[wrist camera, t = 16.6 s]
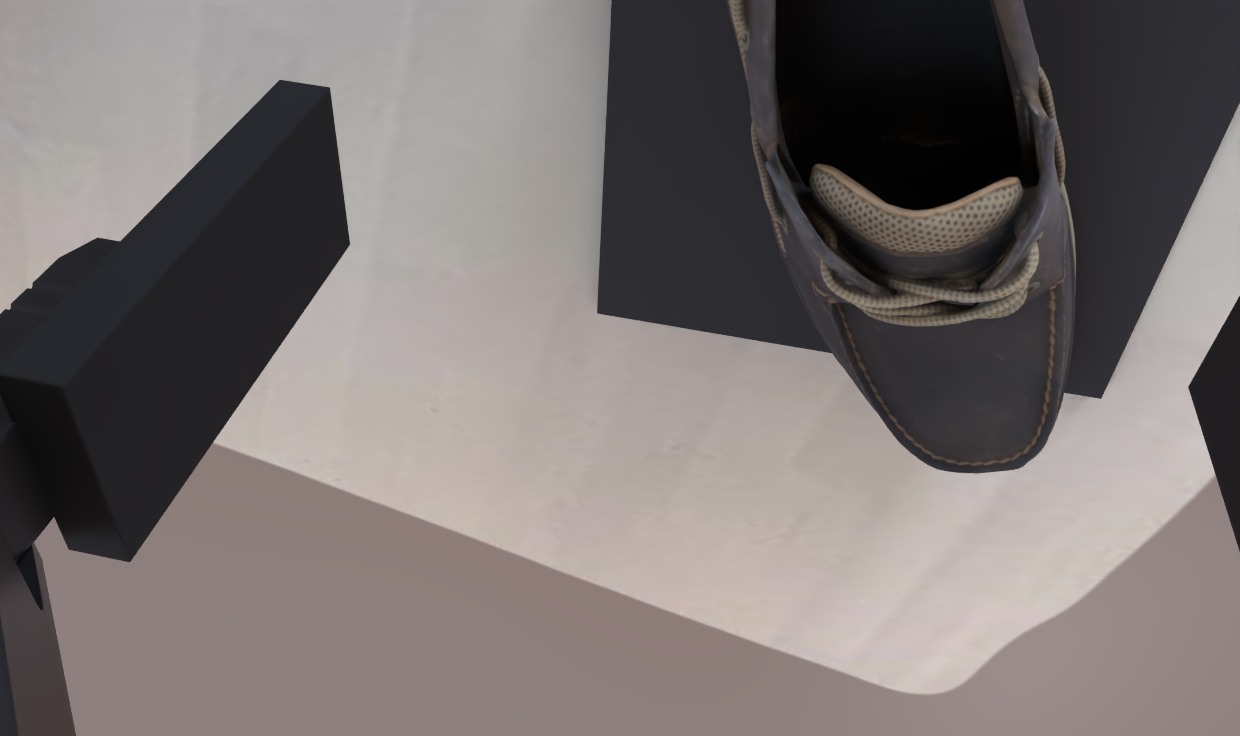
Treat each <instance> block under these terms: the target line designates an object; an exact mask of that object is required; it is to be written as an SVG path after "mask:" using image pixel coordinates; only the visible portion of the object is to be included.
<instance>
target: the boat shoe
mask: <svg viewBox="0 0 1240 736" xmlns="http://www.w3.org/2000/svg"><path fill="white" fill-rule="evenodd" d="M726 2H727V6H728V11H729V16H730V19H731V23H732V27H733V31H734V34H735V38H736V41H737V45H738V48H739V52H740V56H741V60H742V64H743V68H744V72H745V76H746V81H747V86H748V91H749V96H750V113H751V117H752V123H751V137H752V145H753V150H754V154H755V158H756V162H757V166H758V170H759V175H760V179H761V184H762V189H763V193H764V198H765V201H766V203H767V206H768V209H769V214H770V218H771V222H772V226H773V230H774V233H775V237H776V240H777V243H778V246H779V249H780V253H781V256H782V259H783V261H784V263H785V265H786V267H787V269H788V272H789V274H790V276H791V279H792V281H793V283H794V285H795V288H796V290H797V292H798V294H799V296H800V298H801V300H802V302H803V305H804V307H805V309H806V311H807V313H808V315H809V316H810V318H811V320H812V322H813V324H814V325H815V327H816V329H817V330H818V332H819V333H820V335H821V337H822V338H823V340H824V341H825V343H826V344H827V346H828V347H829V349H830V350H831V352H832V353H833V355H834V356H835V358H836V359H837V360H838V362H839V363H840V364H841V365H842V366H843V368H844V369H845V370H846V372H847V373H848V374H849V376H850V377H851V379H852V380H853V381H854V383H855V384H856V386H857V387H858V388H859V390H860V391H861V392H862V394H863V395H864V397H865V398H866V399H867V401H868V402H869V403H870V404H871V406H872V407H873V408H874V409H875V411H876V412H877V413H878V414H879V416H880V417H881V419H882V420H883V421H884V423H885V424H886V426H887V427H888V429H889V430H890V431H891V432H892V434H893V435H894V436H895V438H896V439H897V440H898V441H899V442H900V444H902V445H903V446H904V447H905V448H906V449H907V450H908V451H909V452H910V453H912V454H913V455H915V456H916V457H917V458H918V459H920V460H921V461H923V462H924V463H926V464H927V465H929V466H932V467H934V468H936V469H939V470H943V471H949V472H957V473H986V472H997V471H1007V470H1015V469H1019V468H1021V467H1023V466H1024V465H1025V464H1026V463H1027V462H1028V461H1030V460H1031V459H1033V458H1034V457H1035V456H1036V455H1037V454H1038V453H1039V452H1040V451H1041V450H1042V449H1043V447H1044V446H1045V444H1046V442H1047V440H1048V437H1049V435H1050V433H1051V431H1052V429H1053V427H1054V424H1055V421H1056V419H1057V416H1058V413H1059V410H1060V406H1061V403H1062V399H1063V394H1064V390H1065V386H1066V383H1067V378H1068V373H1069V368H1070V361H1071V354H1072V345H1073V333H1074V321H1075V293H1076V252H1075V237H1074V229H1073V222H1072V216H1071V211H1070V206H1069V201H1068V196H1067V193H1066V189H1065V185H1064V182H1063V181H1064V176H1065V157H1064V149H1063V144H1062V140H1061V136H1060V132H1059V128H1058V123H1057V119H1056V113H1055V108H1054V103H1053V98H1052V93H1051V89H1050V86H1049V82H1048V80H1047V77H1046V75H1045V73H1044V71H1043V69H1042V68H1041V67H1040V66H1039V57H1038V54H1037V51H1036V49H1035V45H1034V42H1033V38H1032V34H1031V30H1030V26H1029V23H1028V19H1027V15H1026V11H1025V7H1024V3H1023V0H726Z"/></svg>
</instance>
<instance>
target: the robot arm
mask: <svg viewBox="0 0 1240 736" xmlns="http://www.w3.org/2000/svg"><path fill="white" fill-rule="evenodd" d="M349 245H350V241H349V233H348V225H347V217H346V210H345V202H344V194H343V186H342V179H341V171H340V163H339V155H338V147H337V140H336V132H335V124H334V116H333V109H332V101H331V93H330V88H329V87H323V86H316V85H310V84H303V83H297V82H290V81H284V80H279V81H278V82H277V83H276V84H275V85H274V86H273V87H272V88H271V89H270V90H269V91H268V92H267V93H266V94H265V95H264V96H263V97H262V98H261V100H260V101H259V102H258V103H257V104H256V105H255V106H254V107H253V108H252V109H251V110H250V111H249V112H248V113H247V114H246V115H245V116H244V117H243V118H242V119H241V120H240V121H239V122H238V123H237V124H236V125H235V126H234V127H233V128H232V129H231V130H230V131H229V132H228V133H227V134H226V135H225V136H224V137H223V138H222V139H221V140H220V141H219V142H218V143H217V144H216V145H215V146H214V147H213V148H212V149H211V150H210V151H209V152H208V153H207V154H206V155H205V156H204V157H203V158H202V159H201V160H200V161H199V162H198V163H197V164H196V165H195V166H194V167H193V168H192V169H191V170H190V171H189V172H188V173H187V174H186V175H185V176H184V178H183V179H182V180H181V181H180V182H179V183H178V184H177V185H176V186H175V187H174V188H173V189H172V190H171V191H170V192H169V193H168V194H167V195H166V196H165V197H164V198H163V199H162V200H161V201H160V202H159V203H158V204H157V205H156V206H155V207H154V208H153V209H152V210H151V211H150V212H149V213H148V214H147V215H146V216H145V217H144V218H143V219H142V220H141V221H140V222H139V223H138V224H137V225H136V226H135V227H134V228H133V229H132V230H131V231H130V232H129V233H128V234H127V235H126V236H125V237H124V238H123V239H122V240H121V241H120V242H119V241H114V240H108V239H102V238H96V239H94V240H92V241H90V242H88V243H87V244H85V245H83V246H81V247H79V248H77V249H75V250H73V251H71V252H69V253H67V254H65V255H63V256H62V257H60V258H58V259H57V260H56V261H55V262H54V263H53V264H52V265H51V266H50V267H49V268H48V269H47V270H46V271H45V272H44V273H43V274H42V275H41V276H40V277H39V278H37V279H36V280H35V281H34V282H33V287H32V289H28V288H27V289H26V290H25V291H24V292H23V293H22V294H21V295H20V296H19V297H18V298H17V299H16V300H15V301H13V302H12V303H11V309H10V310H7V309H5V310H4V311H3V312H2V313H1V314H0V736H76V733H75V728H74V723H73V717H72V712H71V707H70V702H69V697H68V692H67V686H66V681H65V677H64V671H63V666H62V661H61V655H60V650H59V645H58V640H57V635H56V630H55V625H54V619H53V614H52V609H51V604H50V599H49V593H48V588H47V583H46V579H45V573H44V568H43V562H42V558H41V556H40V554H39V552H38V550H37V548H36V546H35V544H34V541H35V540H36V539H37V537H38V536H39V535H40V534H41V532H42V531H43V530H44V529H45V527H46V526H47V525H48V524H49V522H50V521H51V520H52V519H53V517H55V520H56V522H57V524H58V526H59V529H60V531H61V533H62V535H63V538H64V540H65V542H66V544H67V547H68V549H69V550H74V551H78V552H83V553H88V554H93V555H98V556H102V557H108V558H112V559H117V560H122V561H127V562H130V561H131V560H132V559H133V557H134V556H135V554H136V553H137V551H138V550H139V548H140V547H141V546H142V544H143V543H144V541H145V540H146V538H147V537H148V535H149V534H150V533H151V531H152V530H153V528H154V527H155V525H156V524H157V522H158V521H159V519H160V518H161V517H162V515H163V514H164V512H165V511H166V509H167V508H168V506H169V505H170V504H171V502H172V501H173V499H174V498H175V496H176V495H177V494H178V492H179V491H180V489H181V488H182V486H183V485H184V483H185V482H186V481H187V479H188V478H189V476H190V475H191V473H192V472H193V470H194V469H195V467H196V466H197V465H198V463H199V462H200V460H201V459H202V457H203V456H204V455H205V453H206V452H207V450H208V449H209V447H210V446H211V444H212V443H213V442H214V440H215V439H216V437H217V436H218V434H219V433H220V432H221V430H222V429H223V427H224V426H225V424H226V423H227V421H228V420H229V419H230V417H231V416H232V414H233V413H234V411H235V410H236V408H237V407H238V406H239V404H240V403H241V401H242V400H243V398H244V397H245V395H246V394H247V393H248V391H249V390H250V388H251V387H252V385H253V384H254V382H255V381H256V380H257V378H258V377H259V375H260V374H261V372H262V371H263V369H264V368H265V367H266V365H267V364H268V362H269V361H270V359H271V358H272V356H273V355H274V354H275V352H276V351H277V349H278V348H279V346H280V345H281V343H282V342H283V341H284V339H285V338H286V336H287V335H288V333H289V332H290V330H291V329H292V328H293V326H294V325H295V323H296V322H297V320H298V319H299V317H300V316H301V315H302V313H303V312H304V310H305V309H306V307H307V306H308V304H309V303H310V302H311V300H312V299H313V297H314V296H315V294H316V293H317V291H318V290H319V289H320V287H321V286H322V284H323V283H324V281H325V280H326V278H327V277H328V276H329V274H330V273H331V271H332V270H333V268H334V267H335V265H336V264H337V263H338V261H339V260H340V258H341V257H342V255H343V254H344V252H345V251H346V250H347V248H348V247H349ZM1188 388H1189V391H1190V394H1191V397H1192V400H1193V404H1194V407H1195V410H1196V413H1197V416H1198V420H1199V423H1200V426H1201V429H1202V432H1203V436H1204V439H1205V442H1206V445H1207V448H1208V452H1209V455H1210V458H1211V461H1212V464H1213V468H1214V471H1215V474H1216V477H1217V480H1218V483H1219V487H1220V490H1221V493H1222V496H1223V499H1224V502H1225V506H1226V509H1227V512H1228V515H1229V519H1230V522H1231V525H1232V528H1233V531H1234V535H1235V538H1236V541H1237V544H1238V547H1239V551H1240V296H1239V298H1238V300H1237V302H1236V303H1235V305H1234V307H1233V309H1232V311H1231V312H1230V314H1229V316H1228V318H1227V319H1226V321H1225V323H1224V325H1223V326H1222V328H1221V330H1220V332H1219V334H1218V335H1217V337H1216V339H1215V341H1214V342H1213V344H1212V346H1211V348H1210V350H1209V351H1208V353H1207V355H1206V357H1205V358H1204V360H1203V362H1202V364H1201V365H1200V367H1199V369H1198V371H1197V373H1196V374H1195V376H1194V378H1193V380H1192V381H1191V383H1190V385H1189V387H1188Z"/></svg>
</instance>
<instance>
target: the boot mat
mask: <svg viewBox="0 0 1240 736" xmlns="http://www.w3.org/2000/svg"><path fill="white" fill-rule="evenodd" d="M1023 3H1024V7H1025V11H1026V15H1027V19H1028V23H1029V26H1030V30H1031V34H1032V38H1033V42H1034V45H1035V49H1036V51H1037V54H1038V57H1039V66H1040V67H1041V68H1042V69H1043V71H1044V73H1045V75H1046V77H1047V80H1048V82H1049V86H1050V89H1051V93H1052V98H1053V103H1054V108H1055V113H1056V119H1057V123H1058V128H1059V132H1060V136H1061V140H1062V144H1063V149H1064V157H1065V176H1064V181H1063V182H1064V185H1065V189H1066V193H1067V196H1068V201H1069V206H1070V211H1071V216H1072V222H1073V229H1074V237H1075V252H1076V293H1075V321H1074V333H1073V345H1072V354H1071V361H1070V368H1069V373H1068V378H1067V383H1066V386H1065V390H1064V393H1070V394H1076V395H1082V396H1088V397H1094V398H1100V399H1101V398H1102V396H1103V394H1104V391H1105V389H1106V387H1107V385H1108V383H1109V381H1110V379H1111V377H1112V374H1113V372H1114V370H1115V368H1116V366H1117V364H1118V362H1119V359H1120V357H1121V355H1122V353H1123V351H1124V349H1125V347H1126V344H1127V342H1128V340H1129V338H1130V336H1131V334H1132V332H1133V329H1134V327H1135V325H1136V323H1137V321H1138V319H1139V317H1140V315H1141V312H1142V310H1143V308H1144V306H1145V304H1146V302H1147V300H1148V297H1149V295H1150V293H1151V291H1152V289H1153V287H1154V285H1155V282H1156V280H1157V278H1158V276H1159V274H1160V272H1161V270H1162V267H1163V265H1164V263H1165V261H1166V259H1167V257H1168V255H1169V252H1170V250H1171V248H1172V246H1173V244H1174V242H1175V240H1176V238H1177V235H1178V233H1179V231H1180V229H1181V227H1182V225H1183V223H1184V220H1185V218H1186V216H1187V214H1188V212H1189V210H1190V208H1191V205H1192V203H1193V201H1194V199H1195V197H1196V195H1197V193H1198V190H1199V188H1200V186H1201V184H1202V182H1203V180H1204V178H1205V176H1206V173H1207V171H1208V169H1209V167H1210V165H1211V163H1212V161H1213V158H1214V156H1215V154H1216V152H1217V150H1218V148H1219V146H1220V143H1221V141H1222V139H1223V137H1224V135H1225V133H1226V131H1227V128H1228V126H1229V124H1230V122H1231V120H1232V118H1233V116H1234V113H1235V111H1236V109H1237V107H1238V105H1239V103H1240V0H1023ZM751 123H752V117H751V113H750V96H749V91H748V86H747V81H746V76H745V72H744V68H743V64H742V60H741V56H740V52H739V48H738V45H737V41H736V38H735V34H734V31H733V27H732V23H731V19H730V16H729V11H728V6H727V2H726V0H612V8H611V30H610V51H609V72H608V94H607V115H606V137H605V158H604V179H603V201H602V222H601V243H600V265H599V286H598V308H597V313H598V314H604V315H610V316H616V317H622V318H628V319H634V320H640V321H645V322H651V323H657V324H663V325H669V326H675V327H681V328H687V329H693V330H699V331H704V332H710V333H716V334H722V335H728V336H734V337H740V338H746V339H752V340H758V341H763V342H769V343H775V344H781V345H787V346H793V347H799V348H805V349H811V350H817V351H822V352H828V353H832V352H831V350H830V349H829V347H828V346H827V344H826V343H825V341H824V340H823V338H822V337H821V335H820V333H819V332H818V330H817V329H816V327H815V325H814V324H813V322H812V320H811V318H810V316H809V315H808V313H807V311H806V309H805V307H804V305H803V302H802V300H801V298H800V296H799V294H798V292H797V290H796V288H795V285H794V283H793V281H792V279H791V276H790V274H789V272H788V269H787V267H786V265H785V263H784V261H783V259H782V256H781V253H780V249H779V246H778V243H777V240H776V237H775V233H774V230H773V226H772V222H771V218H770V214H769V209H768V206H767V203H766V201H765V198H764V193H763V189H762V184H761V179H760V175H759V170H758V166H757V162H756V158H755V154H754V150H753V145H752V137H751Z"/></svg>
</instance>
